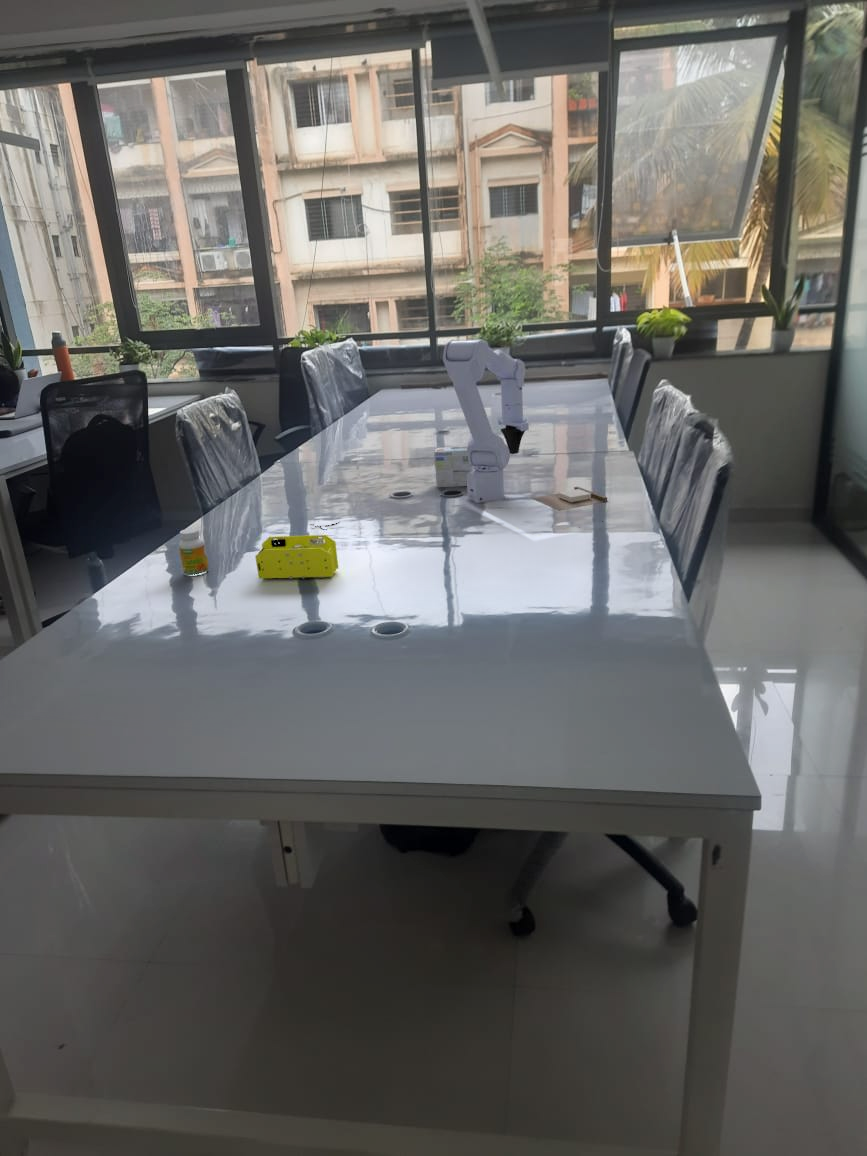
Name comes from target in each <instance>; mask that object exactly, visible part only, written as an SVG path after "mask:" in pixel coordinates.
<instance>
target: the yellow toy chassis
mask: <svg viewBox="0 0 867 1156" xmlns="http://www.w3.org/2000/svg"><path fill="white" fill-rule="evenodd" d="M261 547H262V549H261V550H259V552H258V554H256V555H255V556H254V557H255V561H256V562H255V563H256V569H257V575H258V579H272V578H279V579H285V578H287V579H288V578H289V579H290V580H292V579H293V578H294V579H295V578H302V579H305V578H317V577H323V578H327V577H330V578H331V577H334V574H335V573H336V572H337V570H338V569H339V561H338V554H337V546H336V541H335V540H334V539H332V538H331V537H329V536H328V535H326V534H314V535H313V534H312V535H311V534H310V535H283V536H269V537H267V539H266V540H264V541H263V543H262V544H261Z"/></svg>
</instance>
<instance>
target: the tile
mask: <svg viewBox="0 0 867 1156" xmlns="http://www.w3.org/2000/svg"><path fill="white" fill-rule="evenodd" d="M558 494H559V498H561V499H564V500H566V501H569V502H577V501H582V500H587V499H591V493H588V492H585V491H583V490H580V489H576V490H574V489H570V490H566V491H560V492H558Z"/></svg>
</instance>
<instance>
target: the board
mask: <svg viewBox="0 0 867 1156" xmlns="http://www.w3.org/2000/svg"><path fill="white" fill-rule="evenodd" d="M573 488H574V489H573V490H576V489H580V490H583V491H585V492H588V493H591V499H587V500H582V501H577V502H569V501H566V500H564V499H561V498H559V493H555V494H550V495H549V494H548V495H544V496H539V497H533V498H531V499H532V500H534V501H536V502H538V503H540V504H543V505H545V506H547V507H550V508H553V509H555V510H558V511H563V510H569V509H574V508H579V507H580V508H581V507H585V506H590V505H595V504H601V503H605V502H608V497H607V496H605V495H602V494H599V493H596V492H594V491H592V490H588V489H586V488H582V487H580V486H574V487H573Z"/></svg>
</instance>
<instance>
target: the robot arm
mask: <svg viewBox="0 0 867 1156" xmlns="http://www.w3.org/2000/svg"><path fill="white" fill-rule="evenodd" d="M504 351H505V350H504V349H502V348H501V349H500V348H497V349H495V350H493V349H492V348H491V347H490V346H489V343H488V341H486V340H485V339H478V340H477V339H475V340H474V339H473V340H448V341H447V342H446V344H445V346H444V348H443V357H442V361H443V364H444V366H445V369H446V372H447V374H448V378H449V379H450V380H451V381H452V385H453V389H454V390H455V394H456V397H457V399H458V402H459V405H460V408H461V410H462V413H463V415H464V418H465V421H466V423H467V427H468V429H469V431H470V432H469V433H470V435H471V438H470V440H469V441H468V444H467V445H466V446H467V450H468V459H469V462H470V464H471V465H472V466H473V472H470V473H468V475H467V486H466V488H467V489H466V491H467V499H468V500H470V501H472V502H474V503H476V504H478V503H484V502H485V503H486V502H490V501H491V502H492V501H499V500H502V499H504V498H505V484H504V483H505V481H504V480H505V479H504V478H505V477H504V469H505V468H506V467H507V466H508V465H509V462H510V457H511V455H515V454H518V453H519V451H520V446H521V441H522V438H523V436H524V434H525V432H526V431H529V430H530V428H529V423H528V420H527V418H524V411H523V410H524V409H523V408H524V405H523V387H524V384H525V376H526V365H525V363H524V361H523V360H521V359H520V358H513V357H512V355H510V354H507V353H505V352H504ZM486 368H487V370H488V371H489V372H492V373H493V374H495V375H496V379H497V380H498V381H499V382H500V395H501V396H500V397H501V400H500V401H501V416H499V417H497V425H499V426H502V425H503V426H505V427H503V428H500V432H501V433H502V435H503V437H504V438H502V437H501V436H499V435H497V434H496V433H495V432H493V429H492V427H491V423H490V421H489V418H488V415H487V412H486V410H485V406H484V404H483V401H482V398H481V395H480V392H479V389H478V388H479V387H478V385H477V382H479V381H480V380H482V379H483V376H484V373H485V370H486ZM504 439H505V441H504ZM505 442H506V443H505Z"/></svg>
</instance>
